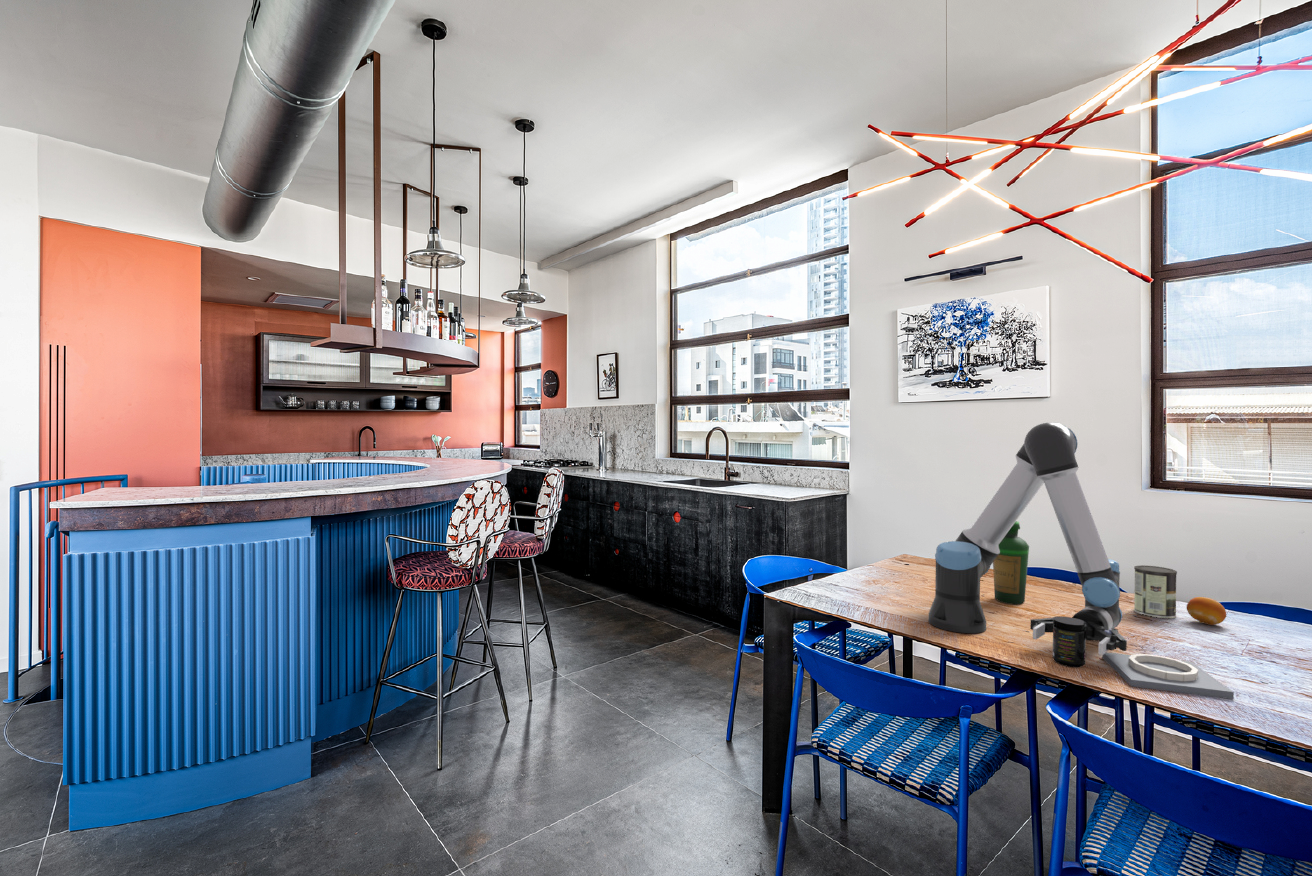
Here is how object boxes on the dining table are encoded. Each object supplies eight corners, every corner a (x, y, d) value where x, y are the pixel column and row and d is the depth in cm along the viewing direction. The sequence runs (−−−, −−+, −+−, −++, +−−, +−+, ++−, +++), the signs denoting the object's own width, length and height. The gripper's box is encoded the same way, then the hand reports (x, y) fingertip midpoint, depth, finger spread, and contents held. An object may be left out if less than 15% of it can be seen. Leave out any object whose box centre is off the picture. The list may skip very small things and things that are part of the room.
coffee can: (1163, 610, 193) (1163, 566, 192) (1184, 620, 182) (1185, 573, 182) (1126, 607, 195) (1127, 564, 194) (1145, 617, 185) (1146, 571, 184)
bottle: (984, 597, 206) (985, 515, 205) (1013, 596, 207) (1015, 515, 206) (1004, 606, 195) (1006, 519, 195) (1036, 605, 196) (1037, 519, 196)
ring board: (1131, 686, 134) (1131, 672, 134) (1102, 657, 151) (1102, 645, 151) (1233, 699, 128) (1233, 685, 128) (1191, 667, 145) (1191, 655, 145)
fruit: (1215, 621, 181) (1216, 595, 181) (1232, 630, 173) (1232, 602, 173) (1181, 618, 184) (1181, 592, 184) (1195, 626, 176) (1196, 599, 176)
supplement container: (1089, 670, 143) (1089, 626, 143) (1055, 665, 146) (1056, 622, 146) (1081, 660, 149) (1082, 618, 149) (1049, 656, 152) (1050, 615, 152)
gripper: (1151, 650, 150) (1130, 672, 136) (1037, 625, 169) (1009, 642, 155) (1151, 620, 150) (1131, 639, 136) (1038, 598, 169) (1009, 613, 155)
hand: (1066, 641), depth 145 cm, fingers open, 13 cm apart
